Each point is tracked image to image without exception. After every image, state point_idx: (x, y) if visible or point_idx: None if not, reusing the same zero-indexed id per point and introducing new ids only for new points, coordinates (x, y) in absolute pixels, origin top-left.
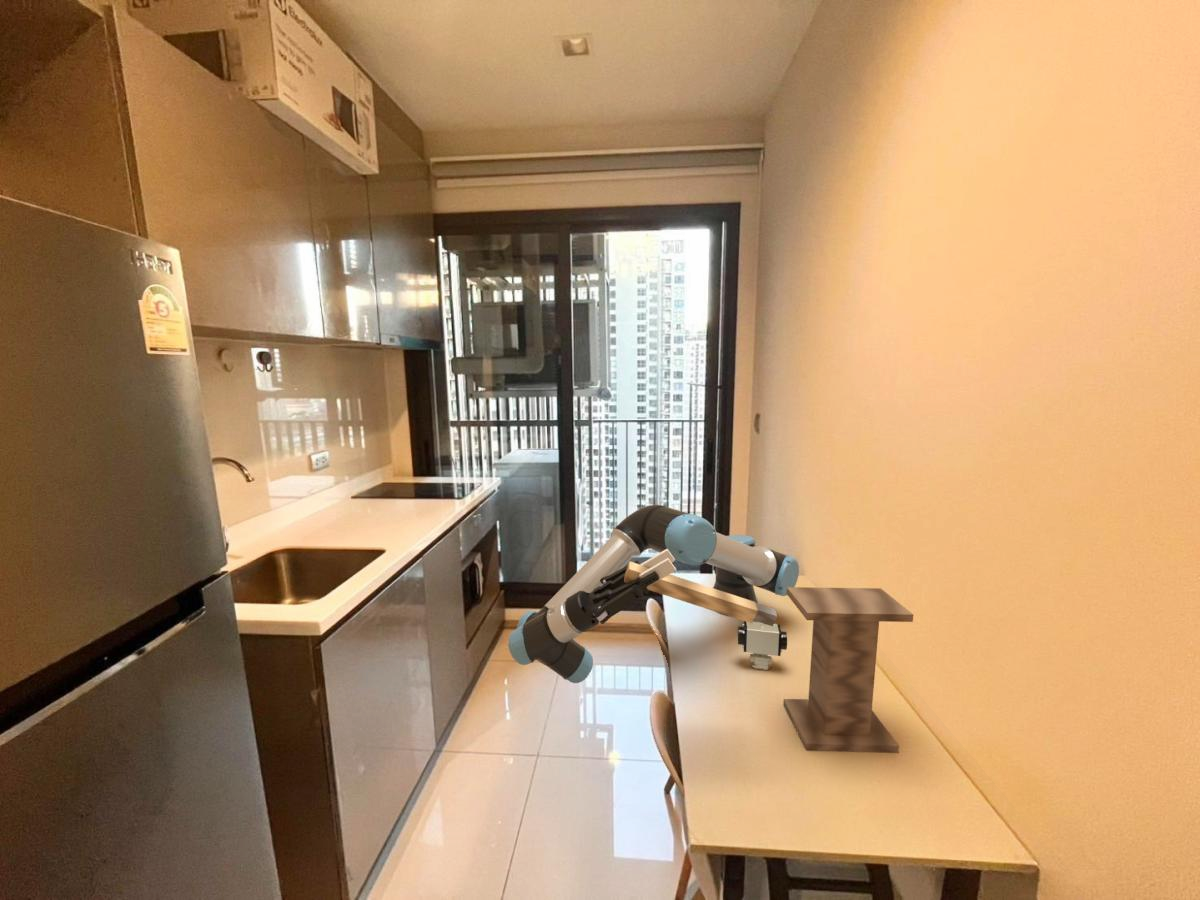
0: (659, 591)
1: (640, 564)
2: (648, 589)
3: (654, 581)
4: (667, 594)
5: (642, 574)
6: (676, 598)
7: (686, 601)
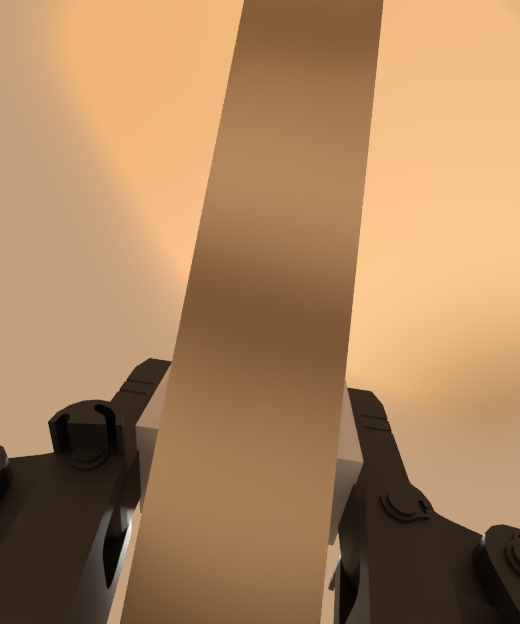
0: (192, 294)
1: (329, 538)
2: (165, 409)
3: (127, 382)
4: (206, 213)
5: None
6: (219, 124)
7: (236, 44)
